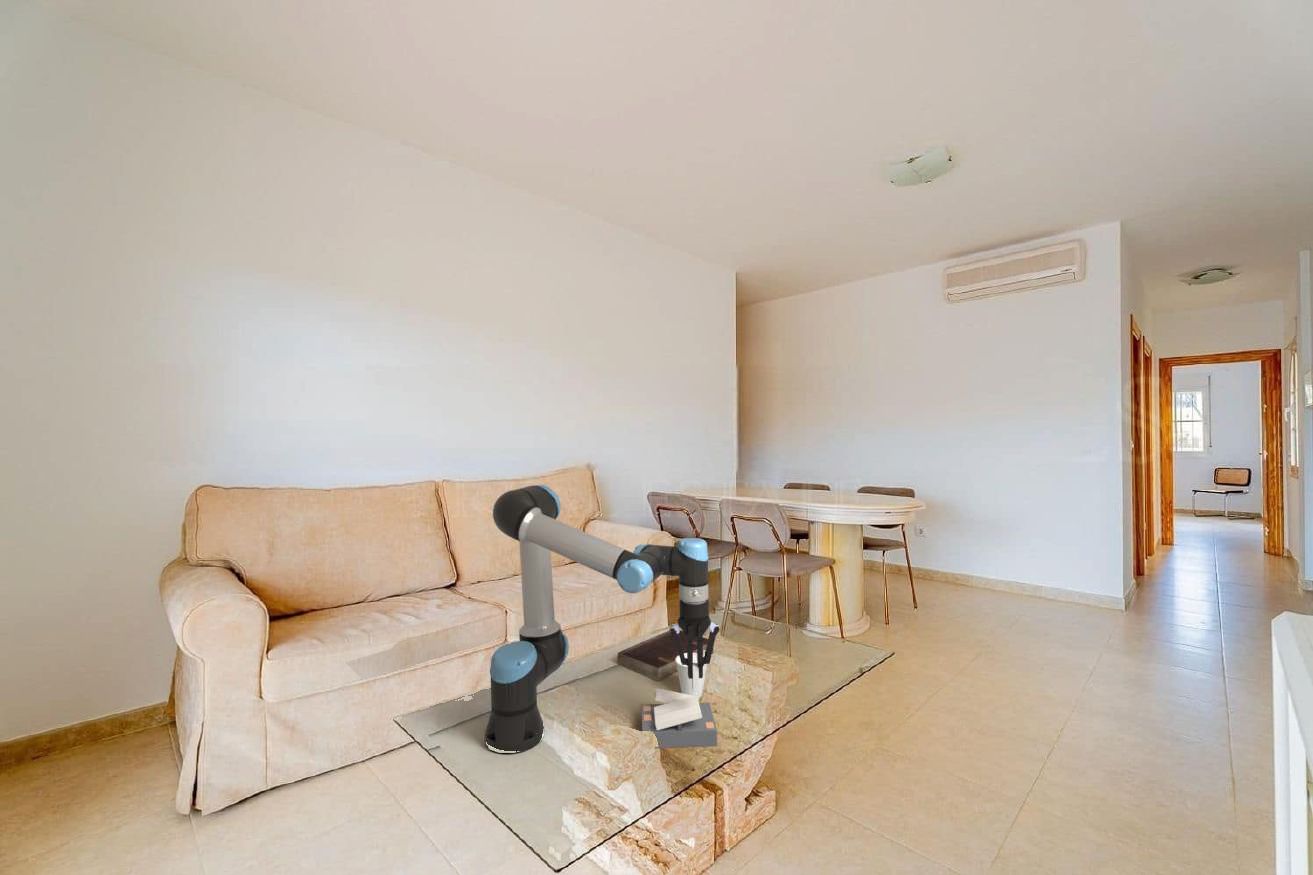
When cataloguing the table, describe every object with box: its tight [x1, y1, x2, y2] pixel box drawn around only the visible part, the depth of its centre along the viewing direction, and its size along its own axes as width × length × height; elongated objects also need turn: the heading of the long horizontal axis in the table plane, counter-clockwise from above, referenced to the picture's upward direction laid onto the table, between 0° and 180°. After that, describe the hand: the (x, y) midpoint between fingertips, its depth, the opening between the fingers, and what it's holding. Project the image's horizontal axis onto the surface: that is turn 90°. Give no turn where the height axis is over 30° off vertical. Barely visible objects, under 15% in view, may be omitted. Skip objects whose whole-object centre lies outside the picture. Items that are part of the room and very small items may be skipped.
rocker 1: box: [654, 687, 700, 704], centre depth 153 cm, size 12×4×2 cm, turn 94°
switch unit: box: [640, 702, 718, 749], centre depth 149 cm, size 19×14×6 cm
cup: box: [675, 653, 708, 700], centre depth 168 cm, size 10×10×11 cm
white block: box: [654, 695, 700, 716], centre depth 148 cm, size 12×4×2 cm, turn 92°
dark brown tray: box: [616, 629, 708, 682], centre depth 194 cm, size 29×19×5 cm, turn 137°
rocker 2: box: [655, 704, 702, 730], centre depth 144 cm, size 12×4×2 cm, turn 92°
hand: (695, 689), depth 144 cm, fingers closed
